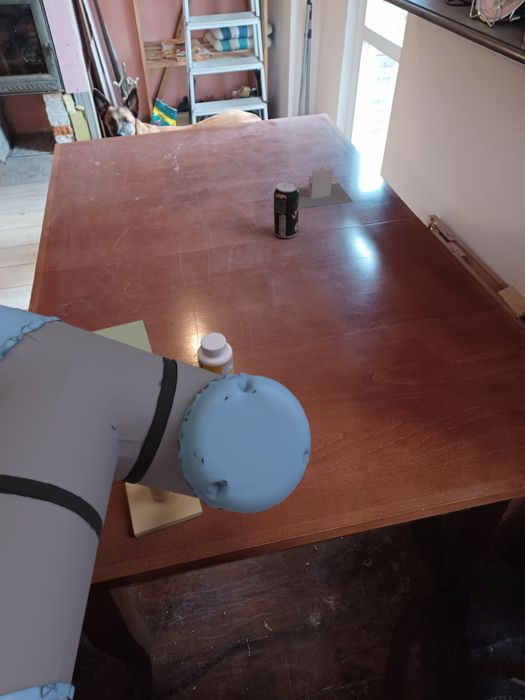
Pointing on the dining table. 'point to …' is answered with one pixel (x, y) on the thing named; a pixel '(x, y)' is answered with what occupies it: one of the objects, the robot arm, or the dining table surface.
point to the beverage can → (286, 210)
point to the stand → (159, 508)
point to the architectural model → (322, 190)
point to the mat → (128, 334)
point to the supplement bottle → (215, 354)
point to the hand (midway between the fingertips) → (132, 426)
